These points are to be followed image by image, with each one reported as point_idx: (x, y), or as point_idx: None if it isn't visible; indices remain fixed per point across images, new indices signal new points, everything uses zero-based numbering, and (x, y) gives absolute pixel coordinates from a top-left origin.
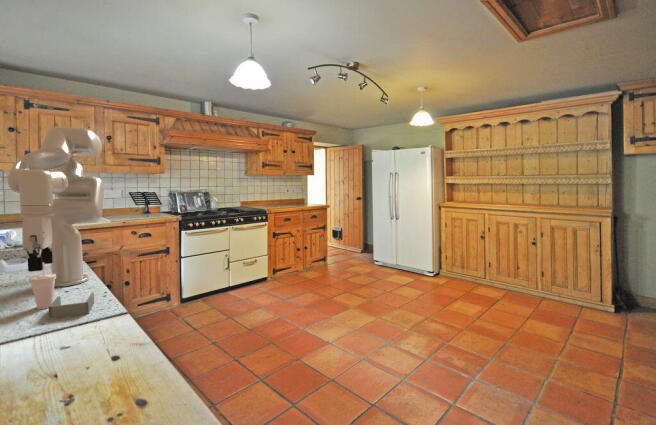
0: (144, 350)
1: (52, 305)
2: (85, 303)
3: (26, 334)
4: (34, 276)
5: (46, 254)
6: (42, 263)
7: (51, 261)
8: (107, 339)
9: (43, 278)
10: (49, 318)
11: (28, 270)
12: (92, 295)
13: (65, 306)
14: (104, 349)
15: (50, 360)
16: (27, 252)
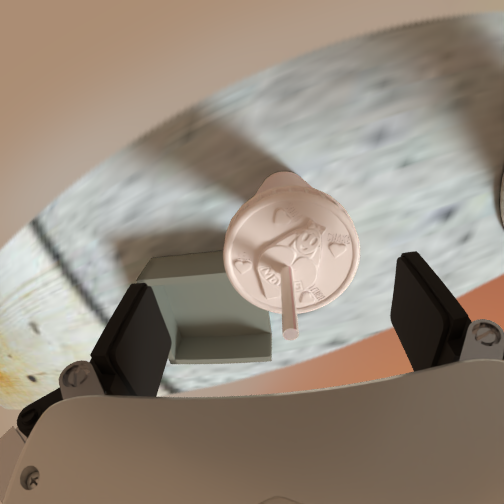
0: None
1: (153, 285)
2: (170, 358)
3: (64, 243)
4: (310, 210)
5: (421, 347)
6: (284, 328)
7: (394, 327)
8: None
9: (234, 282)
10: (150, 259)
11: (131, 286)
12: (247, 360)
13: None
14: (43, 370)
15: (6, 317)
16: (20, 414)
